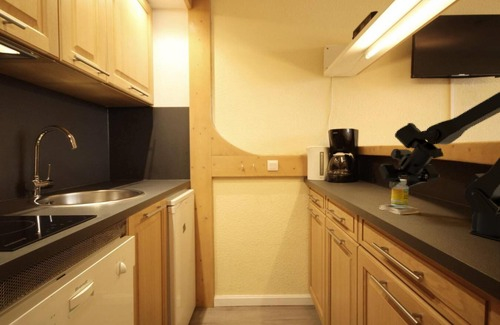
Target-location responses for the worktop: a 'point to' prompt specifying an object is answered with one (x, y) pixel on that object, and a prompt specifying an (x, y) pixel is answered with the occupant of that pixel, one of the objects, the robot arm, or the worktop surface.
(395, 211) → the tray
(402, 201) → the supplement bottle
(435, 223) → the worktop surface
